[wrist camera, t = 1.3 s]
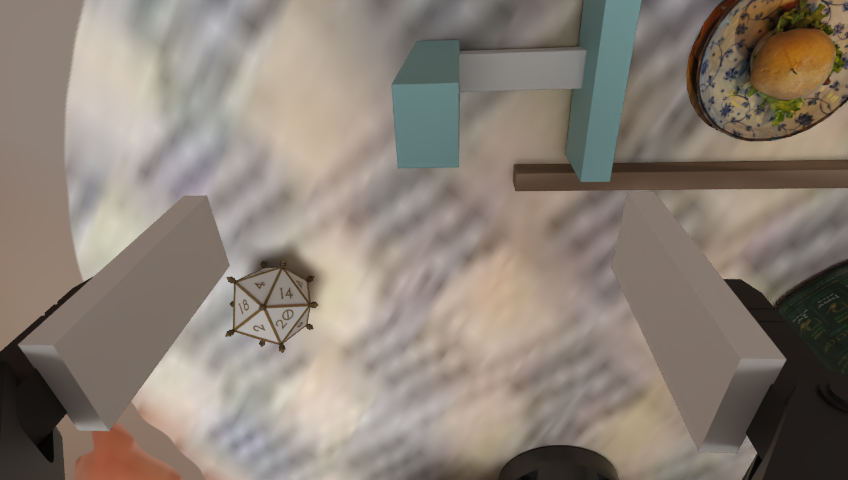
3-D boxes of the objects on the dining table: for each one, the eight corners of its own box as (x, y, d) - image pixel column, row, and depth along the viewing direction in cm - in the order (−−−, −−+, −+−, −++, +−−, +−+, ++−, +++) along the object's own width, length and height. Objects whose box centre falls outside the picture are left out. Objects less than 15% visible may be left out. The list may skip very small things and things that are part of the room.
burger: (778, 157, 37) (844, 197, 31) (651, 101, 36) (693, 131, 29) (911, 1, 31) (1027, 10, 25) (764, -75, 30) (848, -85, 23)
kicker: (590, 154, 37) (659, 254, 24) (423, 156, 38) (404, 253, 25) (621, -52, 30) (741, -65, 17) (414, -41, 31) (381, -46, 18)
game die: (292, 244, 49) (276, 235, 39) (340, 308, 49) (335, 316, 39) (220, 294, 47) (184, 299, 37) (269, 360, 47) (246, 382, 38)
